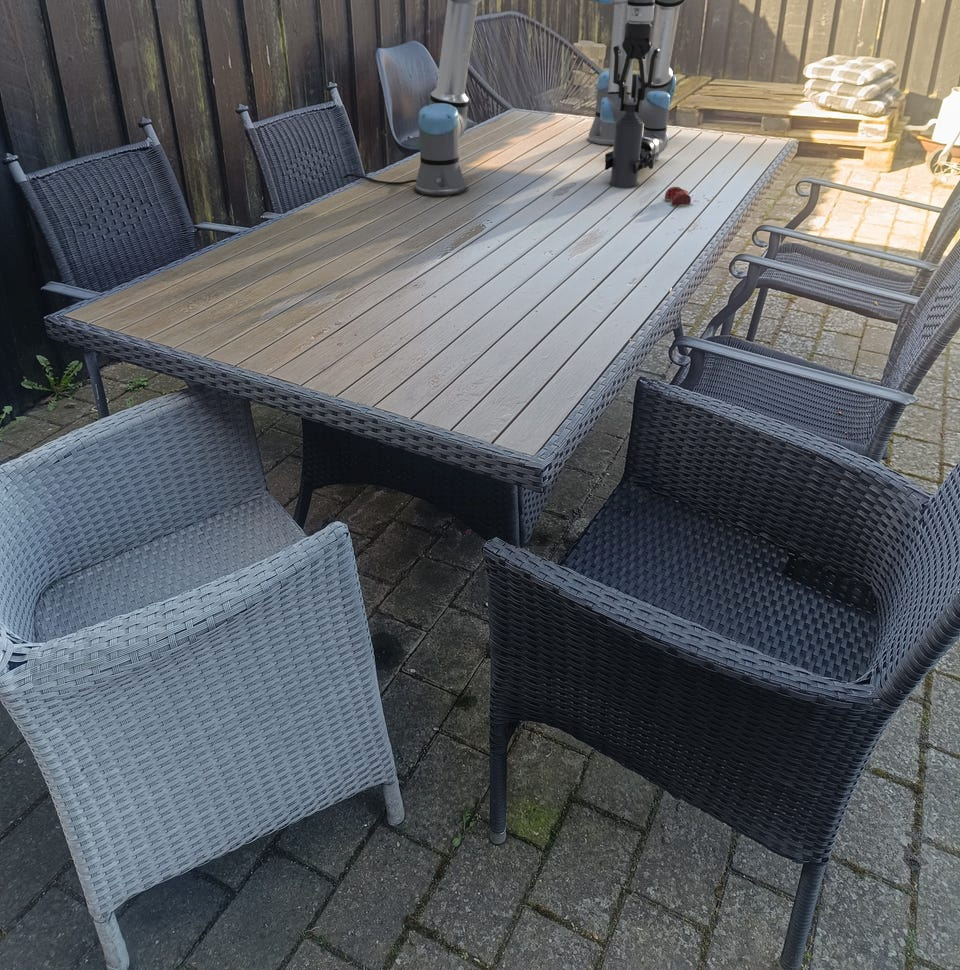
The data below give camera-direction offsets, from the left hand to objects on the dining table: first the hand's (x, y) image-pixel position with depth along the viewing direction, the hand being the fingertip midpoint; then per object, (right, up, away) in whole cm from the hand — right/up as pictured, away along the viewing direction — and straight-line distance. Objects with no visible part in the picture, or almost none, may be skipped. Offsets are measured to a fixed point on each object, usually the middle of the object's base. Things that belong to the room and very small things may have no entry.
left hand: (630, 110), depth 251 cm
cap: (0, +1, -1) cm, 2 cm away
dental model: (+13, -28, -3) cm, 31 cm away
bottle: (0, -17, +12) cm, 21 cm away
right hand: (-2, -15, +5) cm, 16 cm away
